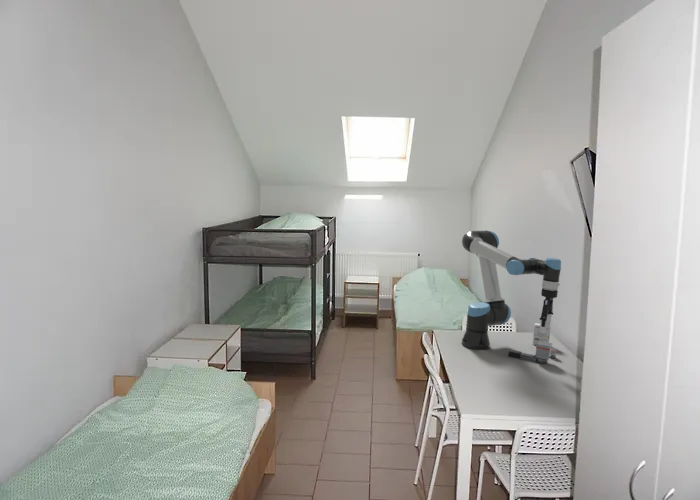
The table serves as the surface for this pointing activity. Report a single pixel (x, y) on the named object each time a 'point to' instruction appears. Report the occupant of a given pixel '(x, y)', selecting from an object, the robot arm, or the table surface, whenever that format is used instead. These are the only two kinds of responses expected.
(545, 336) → the ink box
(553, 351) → the socket small
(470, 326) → the robot arm
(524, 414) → the table surface
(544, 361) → the ratchet
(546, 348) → the socket
